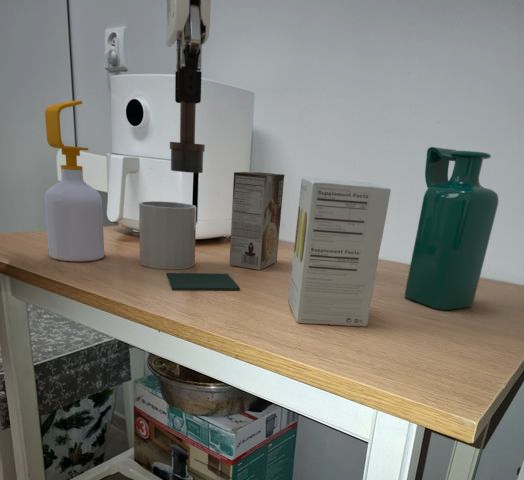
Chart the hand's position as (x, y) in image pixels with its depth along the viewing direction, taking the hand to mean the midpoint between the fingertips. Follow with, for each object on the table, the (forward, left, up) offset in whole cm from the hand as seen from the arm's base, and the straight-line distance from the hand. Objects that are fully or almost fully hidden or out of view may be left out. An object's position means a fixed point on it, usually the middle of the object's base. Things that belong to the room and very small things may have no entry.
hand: (187, 101), depth 71 cm
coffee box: (+14, +8, -26) cm, 30 cm away
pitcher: (+37, -16, -25) cm, 48 cm away
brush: (0, 0, -10) cm, 10 cm away
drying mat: (+2, -6, -25) cm, 26 cm away
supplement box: (+16, -22, -26) cm, 37 cm away
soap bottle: (-17, +11, -25) cm, 33 cm away
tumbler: (-2, +7, -25) cm, 26 cm away
